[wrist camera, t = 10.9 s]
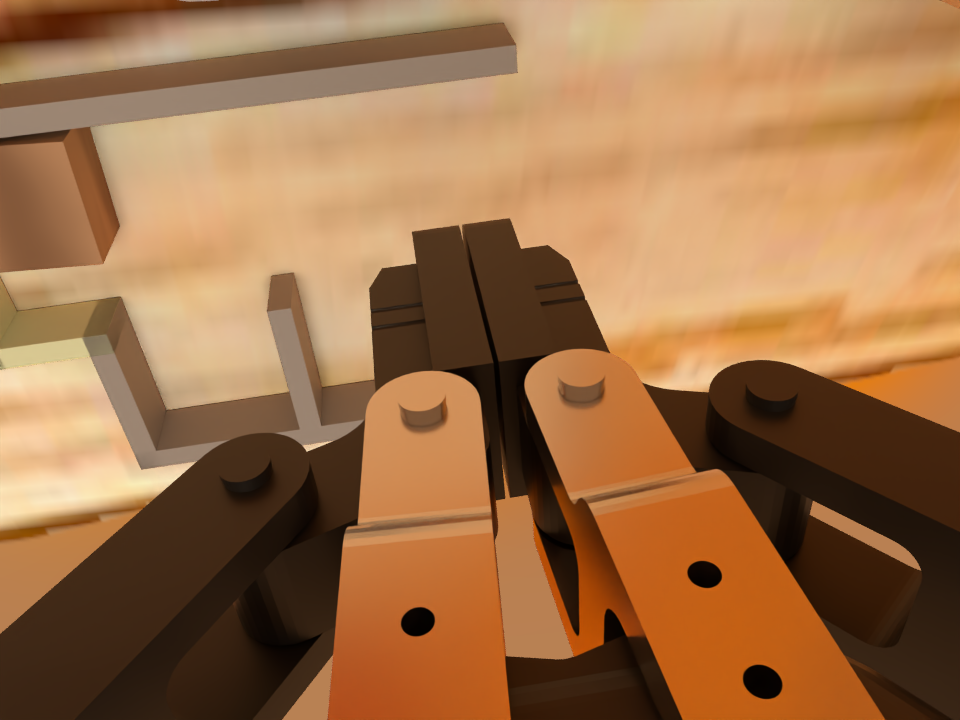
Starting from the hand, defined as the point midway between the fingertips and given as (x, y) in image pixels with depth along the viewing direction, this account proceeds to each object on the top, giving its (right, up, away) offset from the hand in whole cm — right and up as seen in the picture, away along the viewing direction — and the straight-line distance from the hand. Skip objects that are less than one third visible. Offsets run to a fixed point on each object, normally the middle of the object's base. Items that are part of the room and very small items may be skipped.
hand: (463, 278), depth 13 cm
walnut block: (-21, +8, +28) cm, 35 cm away
